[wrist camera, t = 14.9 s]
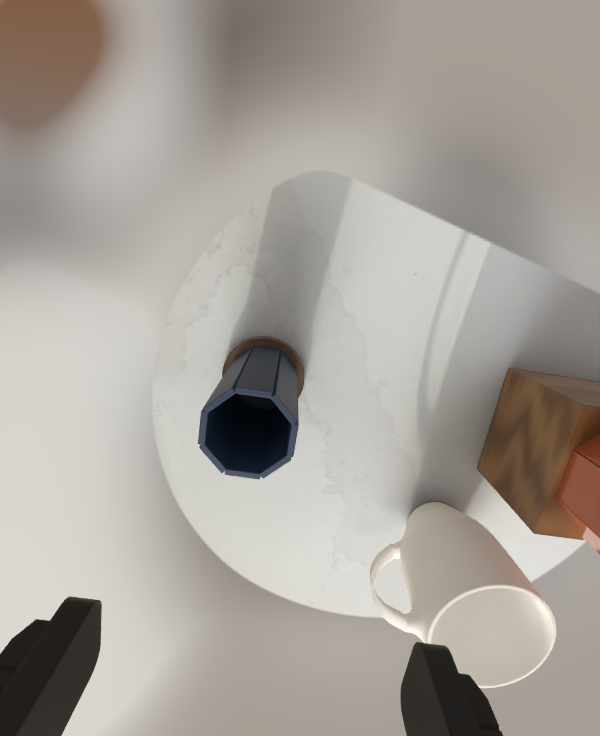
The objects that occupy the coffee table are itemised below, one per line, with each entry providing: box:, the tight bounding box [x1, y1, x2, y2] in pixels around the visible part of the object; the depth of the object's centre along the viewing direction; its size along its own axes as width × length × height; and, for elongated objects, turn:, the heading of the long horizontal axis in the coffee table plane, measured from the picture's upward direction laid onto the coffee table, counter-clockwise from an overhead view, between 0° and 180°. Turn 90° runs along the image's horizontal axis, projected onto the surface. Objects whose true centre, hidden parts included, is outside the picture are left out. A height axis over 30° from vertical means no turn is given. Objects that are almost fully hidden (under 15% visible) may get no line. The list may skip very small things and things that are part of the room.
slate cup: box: [198, 346, 298, 479], centre depth 28 cm, size 6×6×11 cm
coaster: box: [222, 336, 304, 398], centre depth 33 cm, size 7×7×1 cm
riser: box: [477, 368, 600, 540], centre depth 31 cm, size 10×10×9 cm
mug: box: [370, 502, 556, 688], centre depth 32 cm, size 12×9×12 cm
